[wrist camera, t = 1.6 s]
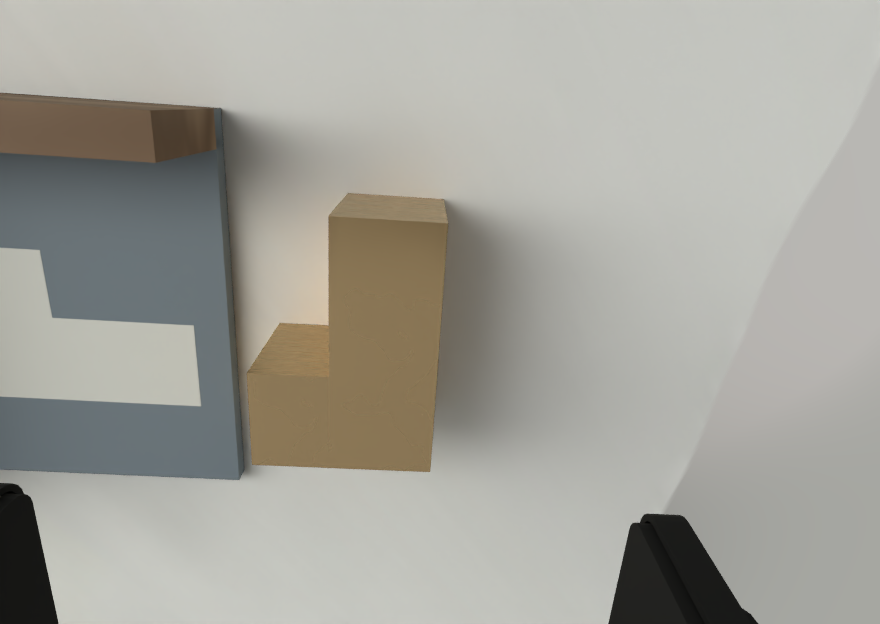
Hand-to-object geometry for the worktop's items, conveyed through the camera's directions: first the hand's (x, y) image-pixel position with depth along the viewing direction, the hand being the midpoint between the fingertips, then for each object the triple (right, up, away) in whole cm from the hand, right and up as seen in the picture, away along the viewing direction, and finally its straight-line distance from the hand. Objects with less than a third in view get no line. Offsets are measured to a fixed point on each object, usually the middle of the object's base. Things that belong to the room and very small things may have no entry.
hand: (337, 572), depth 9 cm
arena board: (-16, +5, +16) cm, 23 cm away
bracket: (-2, +4, +16) cm, 17 cm away
